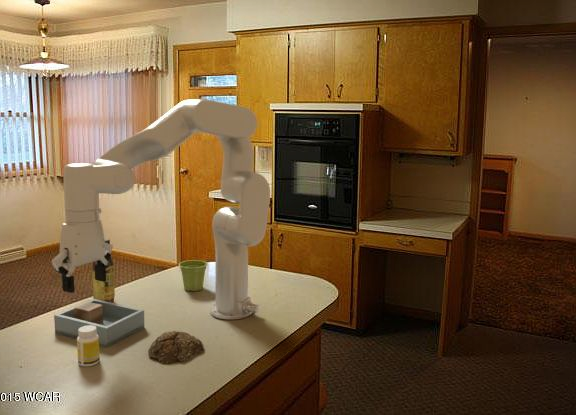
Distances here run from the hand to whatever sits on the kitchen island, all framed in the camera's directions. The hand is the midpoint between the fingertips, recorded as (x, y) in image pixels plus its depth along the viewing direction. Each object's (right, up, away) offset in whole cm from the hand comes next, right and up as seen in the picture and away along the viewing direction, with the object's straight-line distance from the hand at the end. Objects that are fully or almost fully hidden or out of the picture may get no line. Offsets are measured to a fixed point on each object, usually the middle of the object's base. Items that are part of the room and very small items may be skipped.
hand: (85, 286), depth 127 cm
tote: (-2, -14, +15) cm, 21 cm away
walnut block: (-5, -13, +17) cm, 22 cm away
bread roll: (+21, -17, +4) cm, 27 cm away
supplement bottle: (+2, -18, -3) cm, 18 cm away
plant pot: (+17, -9, +50) cm, 54 cm away
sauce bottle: (-8, -11, +35) cm, 37 cm away
